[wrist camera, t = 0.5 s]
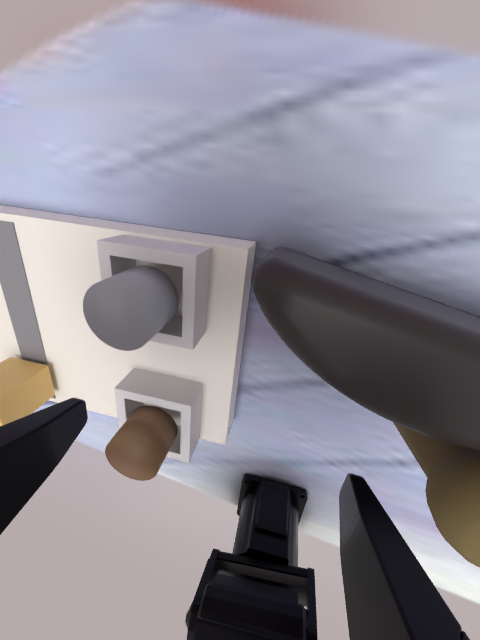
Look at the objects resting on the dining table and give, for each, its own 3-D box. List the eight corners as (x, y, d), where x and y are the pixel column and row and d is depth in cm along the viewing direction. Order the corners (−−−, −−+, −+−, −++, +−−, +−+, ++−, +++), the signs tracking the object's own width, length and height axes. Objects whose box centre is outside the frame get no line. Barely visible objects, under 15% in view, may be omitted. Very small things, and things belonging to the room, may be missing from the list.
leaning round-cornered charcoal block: (252, 304, 20) (218, 363, 11) (274, 241, 18) (256, 251, 9) (475, 388, 19) (638, 530, 10) (520, 329, 17) (765, 436, 8)
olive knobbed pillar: (354, 381, 21) (401, 542, 11) (422, 327, 18) (562, 478, 9) (412, 425, 22) (505, 615, 12) (486, 379, 19) (687, 576, 9)
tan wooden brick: (55, 394, 24) (5, 433, 20) (19, 385, 24) (-36, 422, 20) (48, 365, 22) (-7, 401, 18) (10, 356, 23) (-51, 390, 19)
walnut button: (177, 448, 20) (158, 486, 18) (133, 436, 21) (108, 472, 18) (177, 412, 19) (157, 447, 16) (130, 400, 19) (102, 433, 17)
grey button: (178, 330, 16) (153, 357, 13) (122, 319, 17) (88, 342, 14) (179, 270, 15) (151, 287, 12) (117, 260, 15) (77, 274, 12)
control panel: (233, 418, 25) (216, 472, 20) (27, 369, 28) (-31, 405, 23) (256, 241, 18) (238, 258, 13) (-20, 202, 21) (-116, 203, 16)
